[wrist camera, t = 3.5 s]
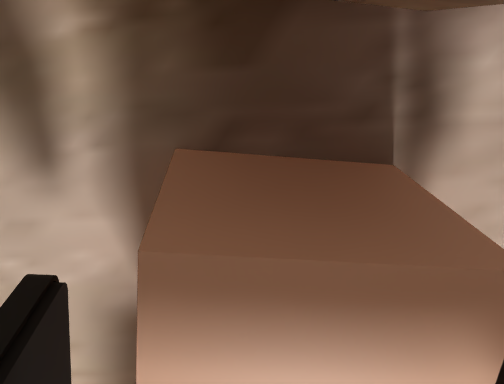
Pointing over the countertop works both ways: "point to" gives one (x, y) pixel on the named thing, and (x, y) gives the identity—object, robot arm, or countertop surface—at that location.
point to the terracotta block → (312, 278)
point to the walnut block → (427, 3)
